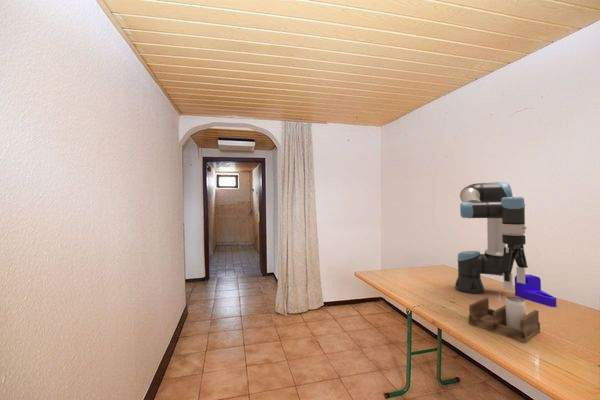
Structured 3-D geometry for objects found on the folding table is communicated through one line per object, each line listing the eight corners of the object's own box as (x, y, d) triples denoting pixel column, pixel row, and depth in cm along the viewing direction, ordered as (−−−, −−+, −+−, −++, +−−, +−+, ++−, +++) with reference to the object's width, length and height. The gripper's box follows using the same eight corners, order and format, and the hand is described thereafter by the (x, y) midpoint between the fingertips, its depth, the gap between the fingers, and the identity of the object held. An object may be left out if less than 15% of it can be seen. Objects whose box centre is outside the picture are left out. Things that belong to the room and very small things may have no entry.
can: (530, 332, 106) (529, 302, 107) (511, 331, 108) (510, 301, 108) (520, 325, 113) (519, 296, 113) (503, 324, 114) (502, 295, 114)
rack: (468, 323, 118) (468, 304, 118) (485, 315, 127) (484, 297, 127) (526, 342, 101) (525, 320, 101) (540, 331, 110) (539, 311, 110)
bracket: (515, 295, 153) (514, 274, 154) (533, 295, 153) (533, 274, 154) (544, 307, 135) (543, 283, 136) (565, 307, 135) (564, 283, 136)
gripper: (512, 237, 101) (514, 294, 101) (535, 232, 115) (536, 282, 115) (489, 236, 107) (491, 289, 107) (514, 231, 121) (515, 278, 121)
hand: (514, 286), depth 111 cm, fingers open, 13 cm apart
